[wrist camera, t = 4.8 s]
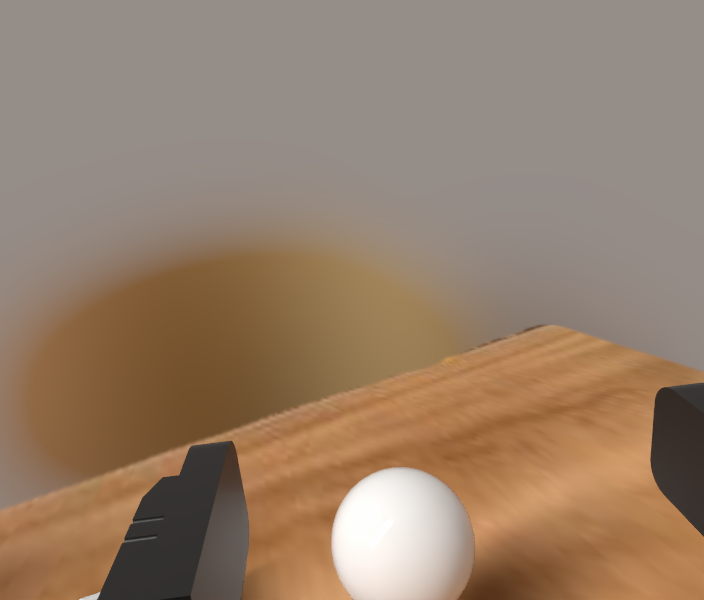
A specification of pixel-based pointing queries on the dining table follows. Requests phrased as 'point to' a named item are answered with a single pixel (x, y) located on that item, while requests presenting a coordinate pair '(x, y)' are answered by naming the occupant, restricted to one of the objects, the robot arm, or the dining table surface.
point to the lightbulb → (402, 538)
